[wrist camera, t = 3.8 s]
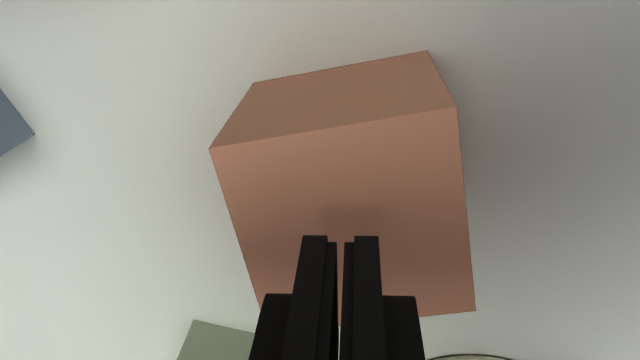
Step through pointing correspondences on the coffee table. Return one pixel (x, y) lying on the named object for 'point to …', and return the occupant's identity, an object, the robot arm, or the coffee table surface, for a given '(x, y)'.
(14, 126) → the slate block
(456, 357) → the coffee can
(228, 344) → the sage block
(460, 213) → the terracotta block
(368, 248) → the robot arm
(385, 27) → the coffee table surface
